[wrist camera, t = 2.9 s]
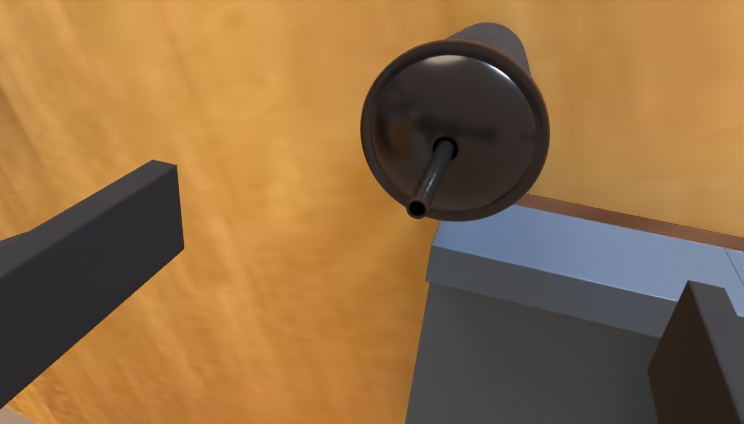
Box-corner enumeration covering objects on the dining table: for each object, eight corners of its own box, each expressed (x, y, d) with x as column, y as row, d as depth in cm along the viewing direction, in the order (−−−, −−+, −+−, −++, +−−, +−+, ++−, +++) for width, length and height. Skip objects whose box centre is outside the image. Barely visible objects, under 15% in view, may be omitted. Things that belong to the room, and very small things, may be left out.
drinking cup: (427, 124, 36) (319, 302, 19) (420, 3, 33) (280, 88, 16) (548, 123, 34) (544, 322, 17) (553, -8, 31) (554, 78, 14)
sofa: (411, 417, 49) (371, 560, 38) (455, 179, 38) (416, 285, 27) (633, 483, 45) (659, 663, 34) (759, 240, 34) (860, 395, 23)
